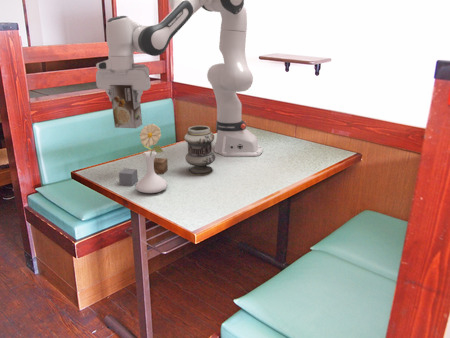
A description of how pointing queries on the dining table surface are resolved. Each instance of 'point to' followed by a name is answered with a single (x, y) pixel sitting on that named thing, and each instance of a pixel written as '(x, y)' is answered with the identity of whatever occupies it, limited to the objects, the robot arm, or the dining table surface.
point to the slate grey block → (128, 177)
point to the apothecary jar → (199, 149)
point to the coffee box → (125, 106)
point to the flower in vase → (151, 161)
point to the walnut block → (160, 165)
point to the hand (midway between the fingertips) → (125, 101)
